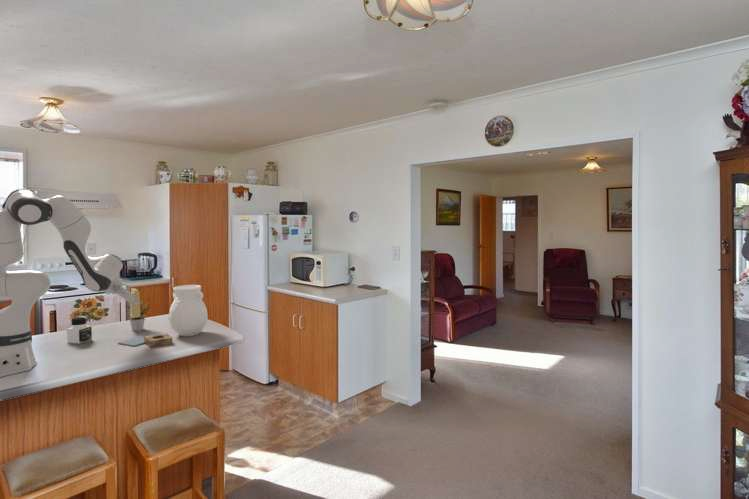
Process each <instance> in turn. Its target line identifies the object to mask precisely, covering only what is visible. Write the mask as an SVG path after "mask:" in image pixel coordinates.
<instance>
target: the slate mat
mask: <svg viewBox="0 0 749 499" xmlns="http://www.w3.org/2000/svg"><path fill="white" fill-rule="evenodd" d="M117 344H118V345H122V346H128V347H138V346H141V345H146V344H145V341H144V336H143V337H142V336H137V337H133V338H129V339H126V340H123V341H119V342H117Z"/></svg>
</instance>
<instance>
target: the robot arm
mask: <svg viewBox="0 0 749 499" xmlns="http://www.w3.org/2000/svg"><path fill="white" fill-rule="evenodd" d="M44 222H50V223H51V225H53V226H54V227H55V229H56V230H57V231H58V233H59V235H60V237H61V239H62V243H63V250H64V252H65V254H66V255H67V257H68V258H69V259H70V261H71V263H72V265H73V266H74V267H75V269H76V270H77V271H78V273H79V275H80V277H81V279H82V282H83V283H84V286H85V287H86V288H87V289H88V290H89V291H91V292H98V293H99V292H104V293H105V294H106V295H110V294H112V295H115V294H116V295H118V296H119V297H121V298H122V299H124V301H126V302H127V303H130V302H132V303H134V304H135V305H137V304H138V303H139V302H138V301H137V300H136V299H135V296H134V295H133V294H131V293H130V292H131V291H129V290H128V289H126V288H125V287H124V283H123V278H121V277H119V273H120V271H121V270H122V269H123V267H124V262H123V260H122V259H121V258H120V257H119V256H117V255H116V254H111V253H108V254H104V255H103V256H102V255H101V256H97V257H93V256H87V253H86V247H87V242H88V239H89V237H90V235H91V231H92V226H91V223H90V221H89V219H88V217H86V215H85V214H84V213H83V212H82V211H81V209H79V208H78V206H77V205H76V204H74V202H72V201H71V200H70V199H69V198H67V197H66V196H63V195H55V196H51V197H49V198H46V199H45V198H41V197H40V195H39V194H38V193H37V192H35V191H33V190H31V189H27V188H18V189H15V190H13V191H11V192H10V193H9V195H8V196H7V197H6V199H5V201H4V202H3V203H2V209H0V300H9V299H10V300H11V304H10V305H8V306H6V307H3V308H2V309H0V378H1V377H5V376H10V375H15V374H19V373H23V372H27V371H30V370H32V369H33V368H34V366H36V365H37V364H38V361H37V360H36V358H35V354H34V351H33V346H32V343H33V334H32V329H31V313H32V312H31V311H32V308H33V306H34V305H35V303H36V302H37V301H38V300H39V299H40V298H41V297H42V296H44V295H46V293H47V292H49V290H50V287H51V279H50V277H49V276H48V274H47V273H45V271H44V272H43V271H39V270H38V271H37V270H31V269H30V270H7V267H9V266H12V265H14V264H16V263H18V262H20V261H21V260H22V259H23V257H24V246H23V240H22V239H23V238H22V232H21V228H22V225H26V226H32V225H37V224H40V223H44Z"/></svg>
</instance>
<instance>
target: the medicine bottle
mask: <svg viewBox="0 0 749 499" xmlns="http://www.w3.org/2000/svg"><path fill="white" fill-rule="evenodd" d="M70 321H71V322H70V323H71V327H68V328H67V327H66V334H67V337H66V338H67V343H68V344H76V343H77V345H78V344H83V343H87V342H89V341H91V340H92V339H93V334H92V333H93V332H92V331H93V330H92V325H88V324H87V323H88V322H87V316H84V315H83V316H81V315H80V316H75V317H72V318H71V319H70Z"/></svg>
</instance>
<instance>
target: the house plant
mask: <svg viewBox="0 0 749 499" xmlns="http://www.w3.org/2000/svg"><path fill="white" fill-rule="evenodd" d="M142 304H143V301H141V300H140V317H137V318H131V317H130V318H129V321H130V326H131V331H133V332H140V331H143V330H144V326H145V320H146V318H145V316H143V315H145V314H150V313H149V312H150V311H149V309H151V307H147V308H144V307H146V305H149V302H147V303H146V304H144V305H142ZM124 306H126V307H127V308H128V309H129V310H128V312H130V302H128V304H124ZM128 315H130V313H125V317H127V316H128Z"/></svg>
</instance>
